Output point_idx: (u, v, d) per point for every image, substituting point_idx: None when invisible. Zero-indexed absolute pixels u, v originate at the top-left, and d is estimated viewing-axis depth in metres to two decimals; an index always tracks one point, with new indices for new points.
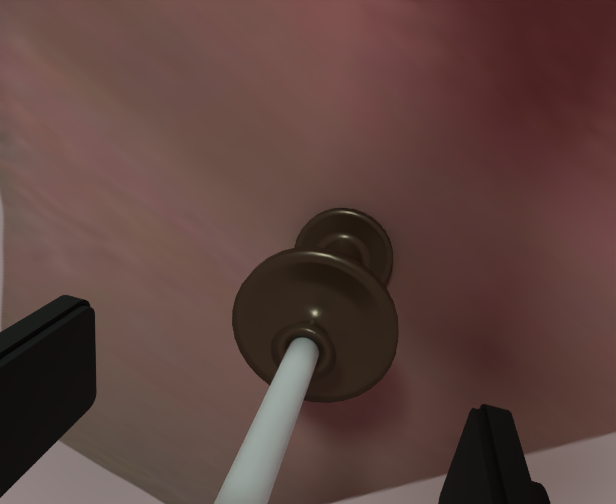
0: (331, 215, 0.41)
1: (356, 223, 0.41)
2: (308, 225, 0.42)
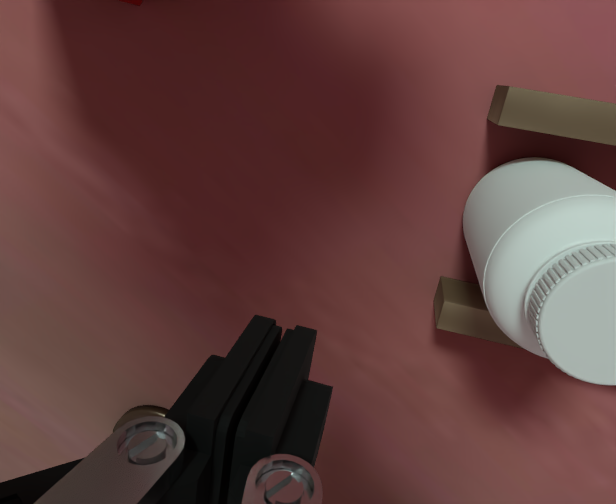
0: (140, 414, 0.43)
1: None
2: (121, 420, 0.43)
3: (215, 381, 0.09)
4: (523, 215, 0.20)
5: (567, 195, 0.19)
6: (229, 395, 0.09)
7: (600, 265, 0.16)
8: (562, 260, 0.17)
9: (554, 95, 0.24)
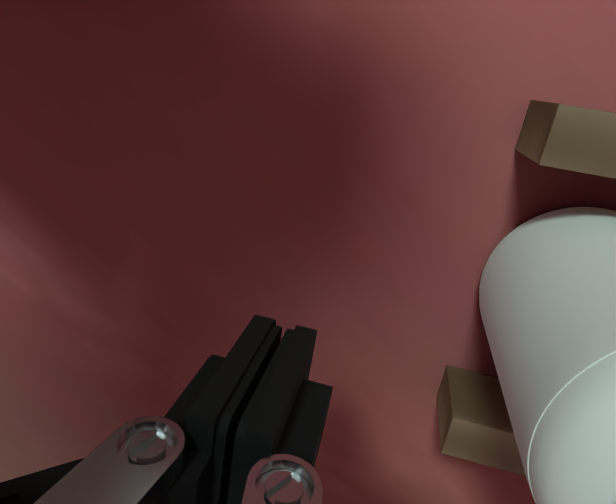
0: None
1: None
2: None
3: (215, 381, 0.09)
4: (607, 352, 0.10)
5: None
6: (229, 395, 0.09)
7: None
8: None
9: None
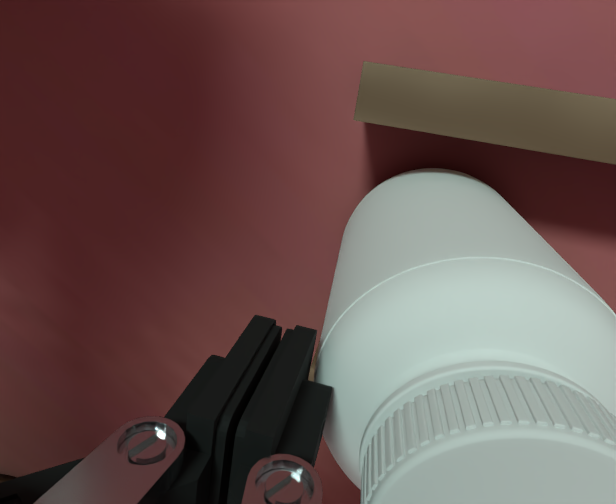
0: None
1: None
2: None
3: (215, 381, 0.09)
4: (364, 292, 0.11)
5: (437, 255, 0.11)
6: (229, 395, 0.09)
7: (469, 445, 0.07)
8: (409, 407, 0.09)
9: (429, 73, 0.16)
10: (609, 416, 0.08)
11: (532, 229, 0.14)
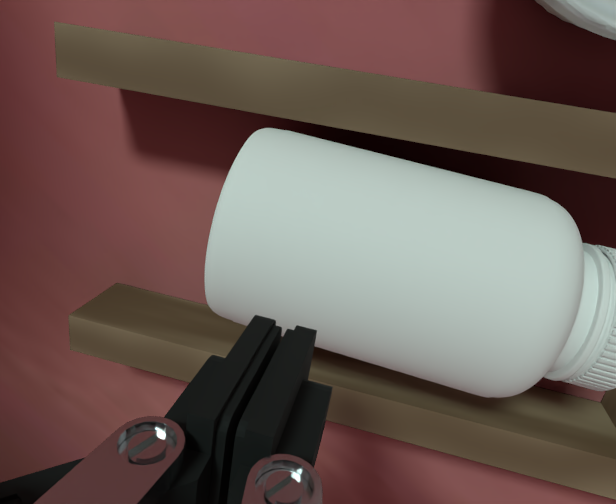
0: None
1: None
2: None
3: (215, 381, 0.09)
4: (556, 234, 0.14)
5: (541, 199, 0.16)
6: (229, 394, 0.09)
7: None
8: None
9: (108, 32, 0.17)
10: None
11: None
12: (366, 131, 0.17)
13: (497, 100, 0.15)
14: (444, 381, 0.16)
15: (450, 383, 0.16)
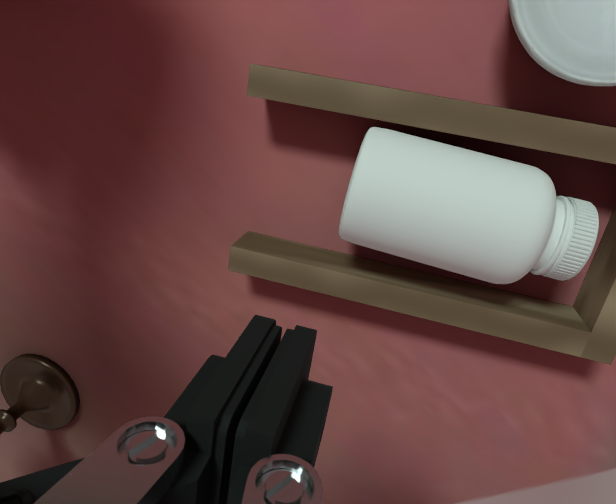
0: (21, 361, 0.48)
1: (41, 368, 0.48)
2: (6, 367, 0.49)
3: (215, 381, 0.09)
4: (540, 185, 0.27)
5: (533, 168, 0.28)
6: (230, 395, 0.09)
7: None
8: (579, 211, 0.28)
9: (283, 70, 0.30)
10: None
11: None
12: (434, 129, 0.29)
13: (509, 112, 0.28)
14: (477, 271, 0.29)
15: (481, 272, 0.29)
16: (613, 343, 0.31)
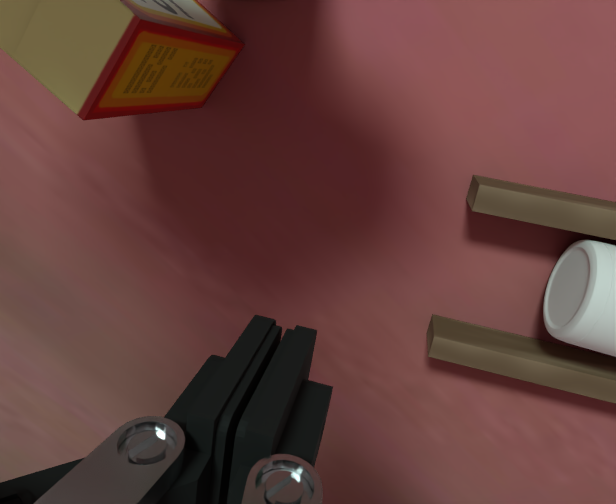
0: None
1: None
2: None
3: (215, 381, 0.09)
4: None
5: None
6: (229, 395, 0.09)
7: None
8: None
9: (512, 192, 0.33)
10: None
11: None
12: None
13: None
14: None
15: None
16: None
